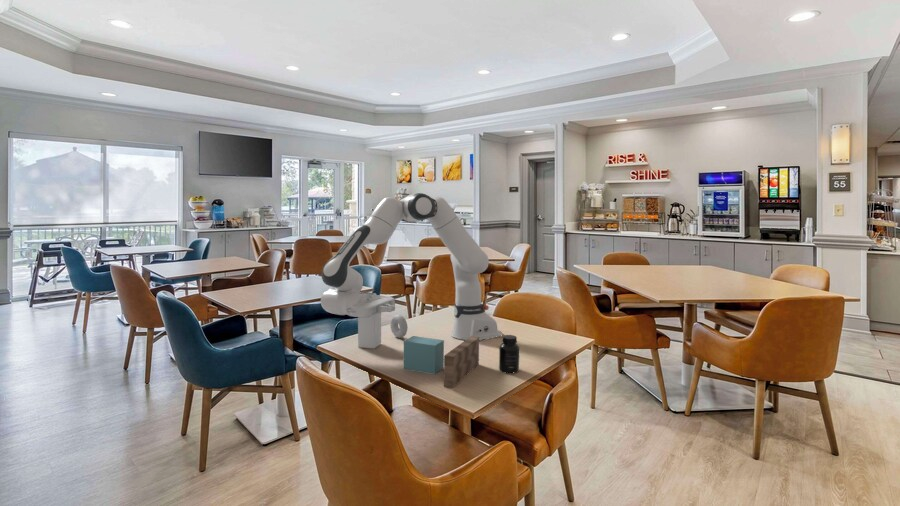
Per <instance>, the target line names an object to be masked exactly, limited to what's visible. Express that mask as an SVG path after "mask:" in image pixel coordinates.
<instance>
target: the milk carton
mask: <svg viewBox="0 0 900 506" xmlns="http://www.w3.org/2000/svg"><path fill="white" fill-rule="evenodd" d="M357 328H358V329H357V339H358V340H357V345H358V346H357V347H358V348H365V349H377V347H378V346H380V345H381V344H382V312H381V313H378V314H376V315H373V316H371V317H368V318H361V317H357Z"/></svg>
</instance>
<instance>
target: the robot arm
mask: <svg viewBox="0 0 900 506" xmlns="http://www.w3.org/2000/svg"><path fill="white" fill-rule="evenodd" d="M425 220H427V221H428V222H429V223H430V224H431V226H432V227H433V229H434V231H435V232H436V234H437V236H438V237H439V239H440V240H441V243H443V245H444V246H445V247H446V248H447V249H448V251H450V261H451V265H452V270H453V276H454V285H455V286H454V287H455V299H454V301H455V302H454V306H453V314H454V315H453V317H454V321H453V325H452V330H451V337H453V338H455V339H457V340H458V339H459V340H463V341H465V340H466V339H468V338H469V337H471V336H475V337H479V340H480V341H483V340H482V339H486V340H488V339H487V338H491V339H493V338H492V337H496V336H501V335H503V331H501V330H499V329H498V328H499V327H498V324H497V321H496V320H495V318H493V317H492V316H490V315H489V314H488V313H486V311H488V310H489V309H490V306H489V305H487V304H483V303H482V285H481V282H480V279H479V275H478V274H483V272H485V271H486V270H487V269H488V268H489V267H488V266H489V262H490V260H489V257H488V255H487V254H486V252H485V251H484V250H482V248H481V247H480V246H479V244H478V243H477V242H476V241H475V239H474V238H473V237H472V236H471V234H470V233H469V232H468V231H467V229H466V228H465V226H464V224H463V222H461V220H460V218H459V217H458V215H457V214H456V212H455V211H454V209H453V208H452V206H451V205H450V204H449V203H448V202H447V201H446V199H444V198H443V197H442V196H437V197H431V196H429V195H428V194H425V193H422V192H420V193H418V192H417V193H412V194H408V195H407V196H405V197H404V196H403V197H401V198H400V199H397V198H395V197H393V196H387V197H384V198H383V199H382V200H381V201H380V202H379V203H378V204H377V206H376V207H375V208H374V209H373V211H372V213H371V214H370V216H369V217H368V219H367V220H366V221H365V222H364V223H363V224H362V225H359V226H357V227H356V228H355V229H354V230H353V231H352V233H351V234H350V235H349V236H348V237H347V239H346V240H345V241H344V243H343V244H342V246H341V247H340V248H339V249H338V251H337V252H336V253H335V254H334V255H333V256H332V257H331V258H330V259H329V260H328V261H327V262H326V263H325V264H324V266H323V267H322V269H321V279H322V282H323V283H324V284H325V285H326V286H329V288H328V289H327V290H326V291H323V293H322V294H321V296H320V304H321V307H322V309H323V310H324V311H325V312H327V313H330V314H332V315H333V314H334V315H338V316H345V315H347V316H349V317H353V318H358V317H361V318H368V317H371V316H373V315H376V314H378V313H381V314H382V313H392V312H395V310H396V299H395V298H394V297H391V296H386V295H381V294H378V295H377V293H374V292H369V293H365V292H363V293H362V292H361V291H362V289H363V286H364V277H363V276H362V274H361V273H359V272H358V271H357V270H356V269H354V268H353V267H351V266H350V264H351V262H352V260H353V259H354V258H355V257H356V255H358V252H360V250H361V249H362V248H363V247H364V246H366V245H375V246H376V245H383V244H385V243H387V242H388V241H389V240H390V239H391V237H392V236H393V234H394V232H395V230H396V229H397V227H398V224H399V223H401V221H402V222H406V223H418V222H420V221H425ZM503 336H504V335H503Z"/></svg>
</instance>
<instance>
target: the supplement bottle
mask: <svg viewBox="0 0 900 506" xmlns="http://www.w3.org/2000/svg"><path fill="white" fill-rule="evenodd" d="M517 338H518V337H517V336H515V335H513V334H506V335H505V334H504V335H503V336H502V339H501V340H502V341H501V342H502V343H501V344H500V345H499V352H498V353H499V357H498V358H499V359H498V363H499V364H498V369H499V371H500V372H501V371H502V372H501V373H503V372H506V373H505V374H509V373H511V374H514V373H513V372H516V373H518V372H519V369H520V345H519V344H517V343H518V341H517ZM517 371H518V372H517Z"/></svg>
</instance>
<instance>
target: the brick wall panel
mask: <svg viewBox="0 0 900 506" xmlns="http://www.w3.org/2000/svg"><path fill="white" fill-rule="evenodd" d="M479 359H480V341H479V337H475V336H471V337H469V338H468V339H466V340H463V342H461V343H460V344H458V345H456V347H454V348H452V349H451V350H449V352H447V353H446V354H444V368H443V387H446V388H450V389H454V388H455V387H456V386H457V385H458V384H459V383H460V382H461V381H462V380H463V379H465V377H466V376H468V375H469V374H470V373H471V372H472V371H473V370H475V368H476V367H477V366H478V365H479V363H480V362H479V361H480V360H479ZM468 373H469V374H468ZM467 374H468V375H467Z"/></svg>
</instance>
